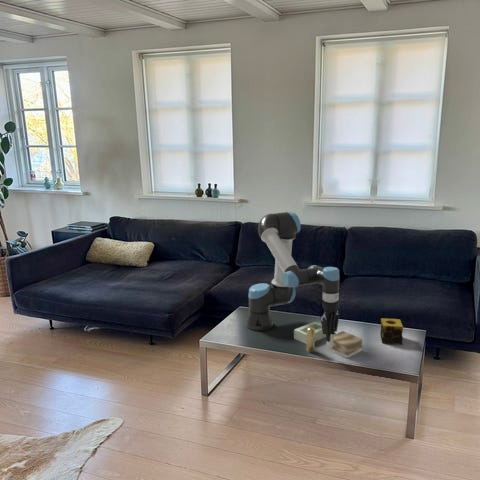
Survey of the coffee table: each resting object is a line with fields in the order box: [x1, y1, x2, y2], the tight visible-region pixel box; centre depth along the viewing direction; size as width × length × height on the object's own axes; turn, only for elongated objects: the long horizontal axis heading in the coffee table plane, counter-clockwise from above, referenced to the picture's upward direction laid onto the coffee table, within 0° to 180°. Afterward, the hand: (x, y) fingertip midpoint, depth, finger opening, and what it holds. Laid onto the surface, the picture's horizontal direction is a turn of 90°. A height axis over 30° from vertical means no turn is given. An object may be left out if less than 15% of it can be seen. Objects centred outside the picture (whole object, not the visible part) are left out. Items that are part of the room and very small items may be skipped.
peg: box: [305, 327, 316, 353], centre depth 225 cm, size 4×4×12 cm
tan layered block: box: [331, 330, 363, 355], centre depth 225 cm, size 12×12×5 cm
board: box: [326, 346, 363, 359], centre depth 226 cm, size 12×12×2 cm
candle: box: [379, 317, 404, 346], centre depth 235 cm, size 10×10×10 cm
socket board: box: [293, 321, 326, 345], centre depth 241 cm, size 10×16×5 cm, turn 130°
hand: (329, 346), depth 217 cm, fingers closed
